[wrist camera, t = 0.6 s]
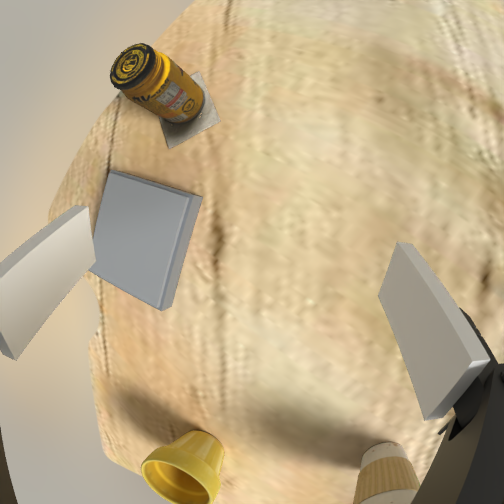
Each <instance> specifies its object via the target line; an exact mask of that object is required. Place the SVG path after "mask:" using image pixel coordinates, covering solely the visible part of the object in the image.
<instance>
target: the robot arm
mask: <svg viewBox="0 0 504 504" xmlns="http://www.w3.org/2000/svg"><path fill="white" fill-rule="evenodd" d="M95 262H96V257H95V252H94V245H93V239H92V232H91V225H90V217H89V208H88V206H77V205H75V206H73V207H72V208H70V209H69V210H67V211H66V212H65V213H63V214H62V215H60V216H59V217H58V218H56V219H55V220H53V221H52V222H51V223H49V224H48V225H47V226H45V227H44V228H43V229H41V230H40V231H39V232H37V233H36V234H35V235H34V236H32V237H31V238H30V239H28V240H27V241H26V242H25V243H23V244H22V245H21V246H20V247H19V248H17V249H16V250H15V251H14V252H12V254H10V255H9V256H8V257H6V258H5V259H4V260H3V261H2V262H1V263H0V350H1V352H2V353H3V355H5V356H7V357H9V358H11V359H14V360H16V361H17V359H18V357H19V356H20V355H21V353H22V352H23V351H24V349H25V348H26V347H27V345H28V344H29V342H30V341H31V340H32V338H33V337H34V335H35V334H36V333H37V332H38V330H39V329H40V328H41V326H42V325H43V324H44V322H45V321H46V320H47V319H48V317H49V316H50V315H51V314H52V312H53V311H54V310H55V308H56V307H57V306H58V305H59V304H60V302H61V301H62V300H63V299H64V298H65V296H66V295H67V294H68V293H69V292H70V290H71V289H72V288H73V287H74V286H75V284H76V283H77V282H78V281H79V280H80V279H81V277H82V276H83V275H84V274H85V273H86V272H87V271H88V270H89V268H90V267H91V266H92V265H93V264H94V263H95ZM378 297H379V299H380V302H381V304H382V306H383V309H384V311H385V313H386V316H387V318H388V320H389V323H390V325H391V328H392V330H393V333H394V335H395V338H396V340H397V343H398V346H399V348H400V351H401V353H402V356H403V359H404V361H405V364H406V367H407V370H408V372H409V375H410V378H411V381H412V384H413V387H414V390H415V393H416V396H417V399H418V402H419V405H420V408H421V411H422V414H423V418H424V421H425V420H432V419H438V418H443V417H444V416H445V415H446V413H447V412H448V411H449V410H450V409H451V408H452V407H453V408H454V411H455V413H456V414H455V415H454V416H453V417H452V419H451V420H450V421H449V422H448V423H447V424H446V425H445V426H444V427H443V428H442V429H441V430H440V431H439V433H438V434H439V435H441V434H442V433H443V432H444V431H445V430H446V433H445V435H444V438H443V440H442V442H441V445H440V447H439V449H438V452H437V454H436V456H435V458H434V460H433V462H432V464H431V467H430V469H429V471H428V473H427V475H426V477H425V479H424V480H423V482H422V484H421V486H420V488H419V490H418V492H417V493H416V495H415V497H414V499H413V500H412V502H411V504H504V364H498V362H497V360H496V359H495V357H494V355H493V354H492V352H491V350H490V348H489V347H488V345H487V343H486V342H485V340H484V338H483V337H481V334H480V332H479V330H478V329H477V328H476V326H475V324H474V323H473V321H472V320H471V318H470V317H469V316H468V315H467V314H466V313H465V312H464V311H463V310H462V309H461V308H459V307H458V306H457V304H456V303H455V301H454V300H453V298H452V297H451V295H450V294H449V292H448V291H447V290H446V288H445V287H444V285H443V284H442V283H441V281H440V280H439V278H438V277H437V276H436V274H435V273H434V272H433V270H432V269H431V268H430V266H429V265H428V264H427V262H426V261H425V260H424V258H423V257H422V256H421V255H420V253H419V252H418V251H417V249H416V248H415V247H414V246H413V244H409V243H403V242H397V243H396V246H395V249H394V252H393V255H392V258H391V261H390V264H389V267H388V270H387V273H386V275H385V278H384V281H383V284H382V286H381V289H380V292H379V294H378ZM0 504H18V503H17V500H16V496H15V493H14V489H13V486H12V482H11V479H10V474H9V470H8V466H7V462H6V457H5V452H4V447H3V441H2V435H1V428H0Z"/></svg>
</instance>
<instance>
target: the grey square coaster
mask: <svg viewBox="0 0 504 504" xmlns="http://www.w3.org/2000/svg"><path fill="white" fill-rule="evenodd" d="M202 199H203V197H201V196H198V195H195V194H191V193H188V192H185V191H182V190H179V189H176V188H173V187H170V186H166V185H163V184H160V183H157V182H154V181H150V180H147V179H144V178H141V177H137V176H134V175H131V174H127V173H124V172H120V171H115V170H111V172H110V173H109V175H108V179H107V183H106V186H105V190H104V194H103V197H102V201H101V205H100V209H99V214H98V218H97V222H96V227H95V231H94V236H93V245H94V252H95V257H96V262H95V263H94V264H93V265H92V266H91V267H90V268H89V271H90V272H92V273H94V274H95V275H97V276H99V277H100V278H102V279H104V280H106V281H107V282H109V283H111V284H113V285H114V286H116V287H118V288H120V289H121V290H123V291H125V292H127V293H128V294H130V295H132V296H134V297H136V298H138V299H139V300H141V301H143V302H145V303H147V304H149V305H151V306H153V307H154V308H156V309H158V310H160V311H163V310H165V309H167V308H169V307H171V306H172V303H173V299H174V295H175V291H176V288H177V284H178V280H179V276H180V273H181V269H182V266H183V262H184V259H185V255H186V252H187V248H188V245H189V241H190V238H191V235H192V231H193V228H194V225H195V221H196V218H197V215H198V212H199V208H200V205H201V202H202Z"/></svg>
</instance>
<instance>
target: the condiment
mask: <svg viewBox="0 0 504 504" xmlns="http://www.w3.org/2000/svg"><path fill="white" fill-rule="evenodd" d="M110 79H111V82H112V84H113V85H114V87H115V88H117V89H120V90H121V91H122V92H123V93H124V94H125V96H126V97H127V98H128V99H130V100H131V101H133V102H135V103H137V104H139V105H140V106H142V107H144V108H146V109H148V110H149V111H151V112H153V113H155V114H157V115H158V116H159V119H160V122H161V126H162V129H163V131H164V134H165V137H166V141H167V144H168V147H169V149H171V148H172V147H174V146H176V145H178V144H180V143H182V142H183V141H185V140H187V139H189V138H191V137H193V136H194V135H196V134H199V133H200V132H202V131H203V130H205V129H207V128H209V127H211V126H213V125H214V124H216V123H218V122H220V121H221V120H220V118H219V116H218V113H217V111H216V109H215V106H214V104H213V102H212V99H211V97H210V94H209V92H208V90H207V87H206V85H205V83H204V80H203V78H202V76H201V74H200V72H199V71H198V72H196V73H195V74H193V75H191V76H189V75H188V74H187V73H186V72H184V71H183V70H182V69H181V68H180V67H179V66H178V65H176V64H175V63H174V62H173V61H172V60H171V59H170V58H169V57H168V56H166V55H165V54H163V53H160V52H157V51H156V50H154V49H153V48H152V47H150V46H149V45H146V44H143V43H140V44H135V45H133V46H131V47H128V48H127V49H125V50H124V51H123V52H121V54H120V55H119V56H118V57H117V58H116V60H115V62H114V64H113V66H112V68H111V73H110ZM201 113H202V114H201ZM200 114H201V115H200ZM200 116H201V118H199V117H200Z"/></svg>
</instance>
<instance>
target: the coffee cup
mask: <svg viewBox="0 0 504 504" xmlns="http://www.w3.org/2000/svg"><path fill="white" fill-rule="evenodd" d="M419 488H420V483H419V481H418V478H417V476H416V474H415V471H414V469H413V466H412V464H411V462H410V461H409V460H408V457H407V455H406V452H405V450H404V448H403V447H402V446H401V445H400V444H398V443H394V442H385V443H380V444H378V445H375V446H373V447H371V448H370V449H368V450H367V451H366V452H365V454H364V455H363V457H362V461H361V468H360V473H359V475H358V481H357V486H356V491H355V496H354V501H353V504H411V502H412V500H413V499H414V497H415V495H416V493H417V492H418V490H419Z"/></svg>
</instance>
